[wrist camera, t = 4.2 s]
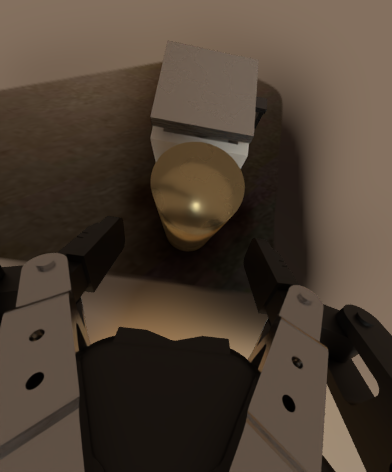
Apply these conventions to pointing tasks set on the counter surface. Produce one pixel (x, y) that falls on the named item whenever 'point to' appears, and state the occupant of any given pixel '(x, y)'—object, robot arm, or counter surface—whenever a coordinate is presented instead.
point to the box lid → (207, 93)
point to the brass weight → (195, 192)
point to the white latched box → (169, 138)
